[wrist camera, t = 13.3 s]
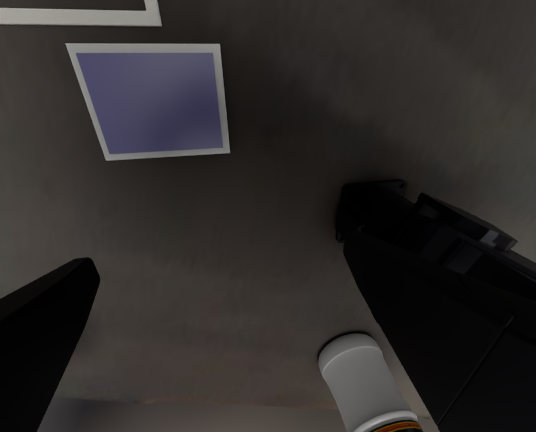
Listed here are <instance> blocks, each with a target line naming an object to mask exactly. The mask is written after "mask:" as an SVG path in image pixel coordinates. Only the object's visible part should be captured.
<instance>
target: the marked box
mask: <svg viewBox="0 0 536 432" xmlns="http://www.w3.org/2000/svg"><path fill="white" fill-rule="evenodd" d="M144 1H145V6H146V11H120V10H73V9H26V8H0V25H61V26H140V27H162V22H161V17H160V12H159V6H158V1H157V0H144Z"/></svg>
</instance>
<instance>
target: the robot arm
mask: <svg viewBox="0 0 536 432" xmlns="http://www.w3.org/2000/svg"><path fill="white" fill-rule="evenodd" d="M400 184H401V186H400ZM406 185H407V183H406V182H405V181H404V180H389V181H377V182H366V183H354V184H346V185H345V186H344V187H343V189H342V195H341V202H340V206H339V207H338V213H337V221H336V230H337V231H336V240H337V241H338V242H339V243H344V248H343V253H344V256H345V259H346V261H347V263H348V266H349V268H350V270H351V272H352V275H353V277H354V279H355V282H356V284H357V286H358V288H359V290H360V292H361V294H362V296H363V297H364V299H365V301H366V303H367V304H368V307H369V308H370V310H371V312H372V315H373V317H374V318H375V320H376V322H377V323H378V324H379V325H380V327H381V329H382V331H383V332H384V334H385V336H386V338H387V339H388V341H389V343H390V345H391V346H392V348H393V350H394V352H395V354H396V355H397V357H398V359H399V361H400V362H401V364H402V366H403V368H404V369H405V371H406V373H407V375H408V376H409V378H410V380H411V382H412V383H413V385H414V387H415V389H416V390H417V392H418V394H419V396H420V397H421V399H422V401H423V403H424V404H425V406H426V408H427V410H428V411H429V413H430V415H431V417H432V418H433V420H434V422H435V424H436V425H437V426H438V429H439V431H440V432H536V263H535V262H533V261H531V260H529V259H527V258H525V257H523V256H522V255H520V254H518V253H516V252H514V251H512V250H510V249H511V248H512V247H513V246H514V245H515V244H516V243H517V242H518V241H517V240H516V239H514V238H512V237H511V236H509V235H508V234H506V233H505V232H503V231H501V230H500V229H498V228H497V227H495V226H494V225H492V224H490V223H488V222H486V221H484V220H482V219H480V218H478V217H476V216H474V215H472V214H470V213H468V212H466V211H464V210H462V209H459V208H457V207H455V206H452V205H450V204H448V203H445V202H443V201H441V200H438V199H436V198H434V197H431V196H429V195H427V194H424V193H422V192H421V194H420V195H419V197H418V198H417V199H418V200H417V202H416V203H415V204H414V203H412V202H411V201H409V200H407V199H406V198H404V197H403V196H404V193H405V189H406ZM348 188H350V189H349V191H347V189H348ZM341 237H342V238H341ZM340 238H341V239H340ZM99 284H100V276H99V274H98V271H97V269H96V267H95V265H94V262H93V261H92V259H91V258H88V257H87V258H77V259H74V260H72V261H70V262H68V263H66V264H64V265H62V266H61V267H59V268H57V269H55V270H53V271H51V272H49V273H47V274H46V275H44V276H42V277H40V278H38V279H36V280H34V281H33V282H31V283H29V284H27V285H25V286H23V287H21V288H20V289H18V290H16V291H14V292H12V293H10V294H8V295H7V296H5V297H3V298H1V299H0V432H37V430H38V428H39V426H40V424H41V421H42V419H43V417H44V415H45V413H46V411H47V408H48V406H49V404H50V402H51V400H52V398H53V395H54V393H55V391H56V389H57V387H58V385H59V382H60V380H61V378H62V376H63V374H64V372H65V369H66V367H67V365H68V363H69V361H70V358H71V356H72V354H73V352H74V350H75V348H76V345H77V343H78V341H79V339H80V337H81V335H82V332H83V330H84V328H85V325H86V323H87V320H88V317H89V314H90V311H91V308H92V305H93V302H94V299H95V296H96V293H97V290H98V287H99Z"/></svg>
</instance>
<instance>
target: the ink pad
mask: <svg viewBox="0 0 536 432" xmlns="http://www.w3.org/2000/svg"><path fill="white" fill-rule="evenodd" d="M65 44H66V46H67V49H68V52H69V55H70V58H71V61H72V64H73V67H74V70H75V72H76V75H77V78H78V81H79V84H80V87H81V90H82V93H83V95H84V98H85V101H86V104H87V107H88V110H89V113H90V116H91V119H92V121H93V124H94V127H95V130H96V133H97V136H98V139H99V142H100V145H101V147H102V150H103V153H104V156H105V159H106V161H108V160H125V159H141V158H157V157H174V156H190V155H206V154H223V153H230V146H229V135H228V125H227V114H226V104H225V93H224V83H223V72H222V62H221V51H220V44H76V43H65Z"/></svg>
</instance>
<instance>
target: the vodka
mask: <svg viewBox="0 0 536 432" xmlns="http://www.w3.org/2000/svg"><path fill="white" fill-rule="evenodd" d="M319 369H320V371H321V374H322V376H323V378H324V380H325V381H326V383H327V384H328V386H329V388H330V390H331V392H332V394H333V397H334V399H335V401H336V403H337V406H338V408H339V411H340V413H341V416H342V418H343V422H344V425H345V427H346V430H347V432H423V430H422V428H421V426H420V425H419V423H418V422H417V421H418V419H417V416H416V414H415V413H414V412H413V411H412V410H411V408H410V406H409V405H408V403H407V402H406V400H405V399H404V397H403V395H402V394H401V392H400V390H399V388H398V386H397V384H396V382H395V380H394V379H393V377H392V375H391V373H390V371H389V369H388V367H387V365H386V363H385V361H384V358H383V354H382V351H381V350H380V348H379V346H378V344H377V343H376V341H375V340H374V339H372V338H371V337H370V336H368V335H365V334H356V333H355V334H347V335H343V336H341V337H338V338H336V339H334V340H333V341H331V342H330V343H329V344H328V345H327V346H326V347H325V348H324V349H323V350H322V352H321V353H320V355H319Z"/></svg>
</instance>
